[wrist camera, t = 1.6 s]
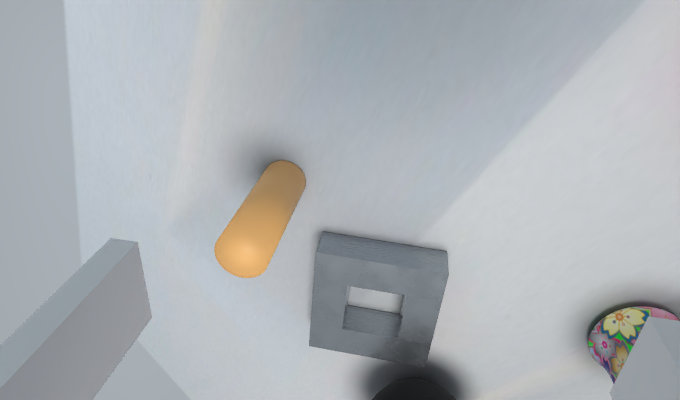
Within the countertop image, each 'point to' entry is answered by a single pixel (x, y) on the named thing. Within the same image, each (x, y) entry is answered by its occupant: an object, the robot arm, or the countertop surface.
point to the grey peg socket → (381, 275)
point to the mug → (620, 336)
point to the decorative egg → (413, 391)
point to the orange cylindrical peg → (260, 221)
